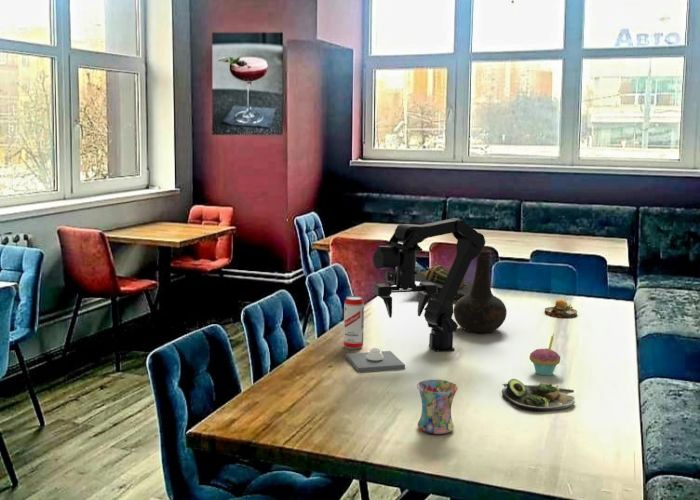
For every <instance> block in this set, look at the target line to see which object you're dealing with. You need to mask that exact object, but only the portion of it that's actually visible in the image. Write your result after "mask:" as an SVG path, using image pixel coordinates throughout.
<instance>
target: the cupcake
mask: <svg viewBox="0 0 700 500" xmlns="http://www.w3.org/2000/svg"><path fill="white" fill-rule="evenodd" d="M554 335H555V333H553V334H552V335H551V337H550V341H549V345H548V348H537V349H534V350H533V351H531V353H530V354H529V360H530V362H531V363H532V364H533V367H534V371H535V374H537V375H539V376H548V377H549V376H552V375H553V374H554V372H555V369H556V367H557V365H559V364H560V362H561V356H560V355H559V354H558V352H556V351H555V350H553V349H552V346H553V342H554Z"/></svg>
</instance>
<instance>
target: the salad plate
mask: <svg viewBox="0 0 700 500" xmlns="http://www.w3.org/2000/svg"><path fill="white" fill-rule="evenodd" d="M502 386H504V387H503V388H502V389H501V394H502V397H503V398H504V399H505V400H506V402H507V403H509V404H510V405H511V406H513V407H514V406H515V409H516V408H517V409H518V410H519V409H520V410H522V411H526V412H527V411H528V412H537V413H538V412H539V413H540V412H550V411H551V412H552V411H558V410H563V409H568V408H570V407H571V406H573V405H574V404H575V403H576V401H575V399H574V398H572V397H571V396H569V395H568V394H573V393H574V392H575V390H574V389H569V388H561V387H559V385H558V384H556V386H554V385H553V384H552V383H550V384H548V383H543V382H540V383H539V384H538V383H537V384H524V383H523V382H522V381H521V380H519V379H517V378H511V379H509V380H508V382H507V383H504V384H503V383H502ZM553 402H558V403H560V404H561V405H559V406H549V403H553Z"/></svg>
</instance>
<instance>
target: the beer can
mask: <svg viewBox="0 0 700 500" xmlns="http://www.w3.org/2000/svg"><path fill="white" fill-rule="evenodd" d="M345 298H346V299H345V300H344V305H343V306H344V307H343V346H344V347H345V348H346V349H348V350H361V348H362V347H363V345H364V324H365V323H364V322H365V320H364V319H365V302H364V300H363V297H362V296H359V295H358V296H357V295H350V296H349V295H348V296H346V297H345Z"/></svg>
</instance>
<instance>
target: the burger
mask: <svg viewBox="0 0 700 500" xmlns="http://www.w3.org/2000/svg"><path fill="white" fill-rule="evenodd" d="M544 314H545V315H546V316H552V317H553V318H560V319H570V318H576V317H578V310H576V309H574V306H571V304H568V302H567V301H566V300H564V299H563V298H561V299H557V300H556V301H555V303H554V306H548V307H545V308H544Z"/></svg>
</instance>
